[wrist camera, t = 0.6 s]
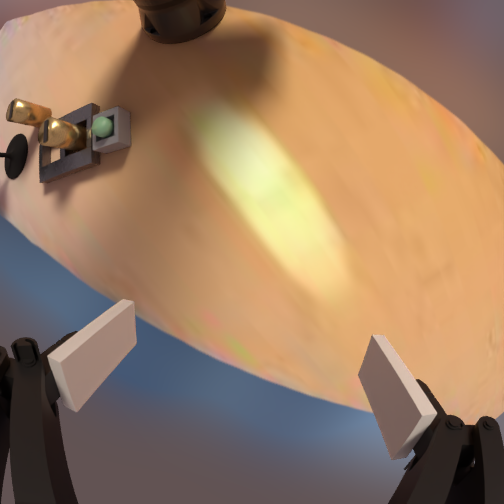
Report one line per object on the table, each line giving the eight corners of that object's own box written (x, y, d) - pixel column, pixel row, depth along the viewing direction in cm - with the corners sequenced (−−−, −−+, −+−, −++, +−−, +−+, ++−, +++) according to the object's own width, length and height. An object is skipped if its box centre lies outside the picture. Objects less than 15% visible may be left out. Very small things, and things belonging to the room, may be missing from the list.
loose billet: (39, 112, 37) (6, 104, 27) (52, 105, 37) (18, 94, 27) (38, 131, 38) (3, 124, 28) (50, 123, 38) (15, 115, 27)
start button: (98, 122, 34) (91, 120, 32) (114, 117, 33) (107, 113, 31) (98, 140, 34) (91, 138, 32) (114, 134, 34) (107, 132, 32)
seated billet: (75, 132, 38) (37, 123, 28) (92, 125, 37) (55, 112, 27) (75, 155, 38) (36, 148, 28) (92, 148, 38) (53, 139, 28)
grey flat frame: (48, 130, 38) (40, 128, 35) (99, 106, 36) (91, 102, 34) (48, 182, 40) (39, 182, 37) (100, 164, 38) (91, 162, 36)
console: (105, 121, 37) (92, 115, 33) (130, 112, 36) (118, 105, 33) (106, 153, 38) (92, 150, 34) (131, 146, 38) (118, 141, 34)
